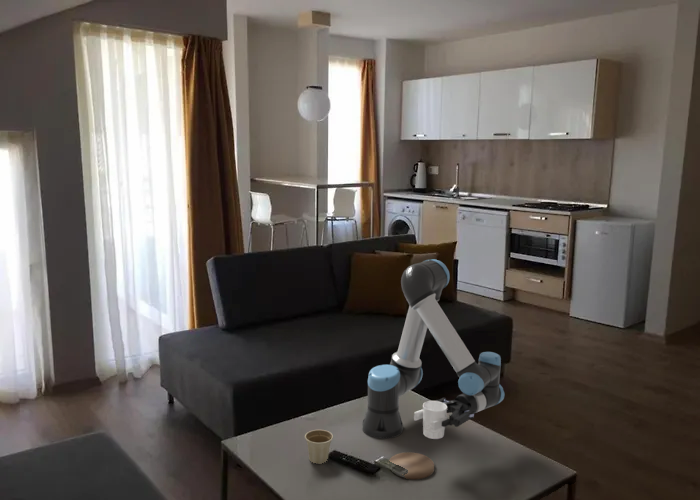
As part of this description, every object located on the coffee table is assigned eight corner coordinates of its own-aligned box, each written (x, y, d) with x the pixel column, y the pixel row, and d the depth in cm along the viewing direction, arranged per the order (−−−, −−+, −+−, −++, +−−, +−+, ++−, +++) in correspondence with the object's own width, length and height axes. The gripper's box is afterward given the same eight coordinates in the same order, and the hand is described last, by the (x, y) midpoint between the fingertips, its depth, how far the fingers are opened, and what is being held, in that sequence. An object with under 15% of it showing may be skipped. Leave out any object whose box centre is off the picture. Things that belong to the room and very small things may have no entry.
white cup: (445, 441, 192) (447, 412, 191) (420, 438, 194) (422, 409, 192) (445, 430, 200) (447, 401, 198) (422, 427, 201) (423, 399, 200)
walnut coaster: (379, 464, 200) (379, 461, 200) (411, 451, 209) (412, 447, 209) (410, 484, 189) (410, 481, 188) (443, 469, 198) (443, 466, 198)
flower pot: (337, 456, 205) (337, 433, 203) (324, 469, 197) (325, 445, 195) (313, 450, 209) (313, 427, 207) (299, 463, 200) (299, 439, 199)
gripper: (493, 424, 200) (447, 444, 186) (446, 402, 215) (401, 420, 201) (494, 403, 199) (448, 422, 184) (447, 383, 214) (402, 399, 200)
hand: (424, 421), depth 193 cm, fingers closed on white cup, 8 cm apart
